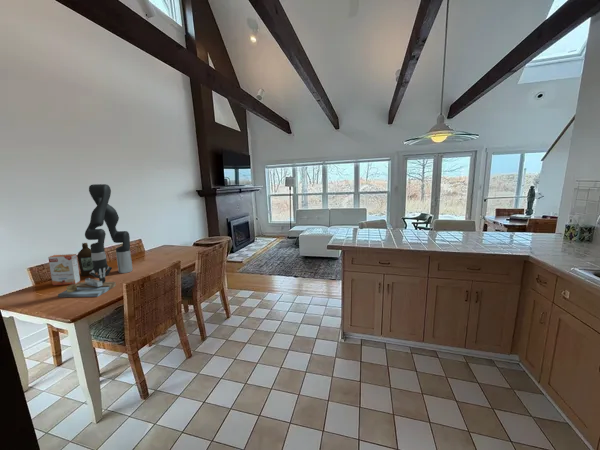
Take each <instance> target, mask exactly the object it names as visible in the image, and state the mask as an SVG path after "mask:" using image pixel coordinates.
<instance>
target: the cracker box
mask: <svg viewBox="0 0 600 450" xmlns="http://www.w3.org/2000/svg"><path fill="white" fill-rule="evenodd" d="M77 255H78V254H76V253H75V254H73V253H72V254H53V255H50V256H48V258H47V259H48V264H49V269H50V270H49V271H50V277H51V282H52V286H62V285H67V286H68V285H75V284H77V283H80V282H81V275H80V268H79V262H78V257H77Z"/></svg>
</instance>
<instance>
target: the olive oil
mask: <svg viewBox="0 0 600 450" xmlns="http://www.w3.org/2000/svg"><path fill="white" fill-rule="evenodd" d="M81 246H82V248H81V249H80V250H79V252H78V253H77V254H76V255H77V262H78V268H79V273H80V277H81V276H82V277H88V276H92V275H91V274H89V272H91V271H92V270H93V263H92V257H91V248H89V245H88V242H82V243H81ZM94 272H95V271H94ZM95 274H96V275H97V273H96V272H95Z"/></svg>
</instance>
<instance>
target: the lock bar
mask: <svg viewBox="0 0 600 450" xmlns="http://www.w3.org/2000/svg"><path fill="white" fill-rule="evenodd" d="M84 282H85V284H87V285H91V286H96V287H99V286H102V285H103V284H102V281H100V280H99V279H96V278H95V279H94V278H90V277H86V278H85V279H84Z"/></svg>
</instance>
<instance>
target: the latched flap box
mask: <svg viewBox="0 0 600 450" xmlns="http://www.w3.org/2000/svg"><path fill="white" fill-rule="evenodd" d="M116 283H117V282H116V281H105V283H102V284H103V285H102V286H99V287H96V286H91V285H87V284H85V281H84V282H81V281H80V282H78V283H76V284H69V285H67V286H66V288H65V289H66V290H64V291H62V292H60V293H58V294H57V297H58V298H93V297H94V298H95V297H96V298H98V297H100V296H102V295H103V294H105V293H107V292H108V291H110V290H112V289H114V288H115V287H116V286H117V284H116Z"/></svg>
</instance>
